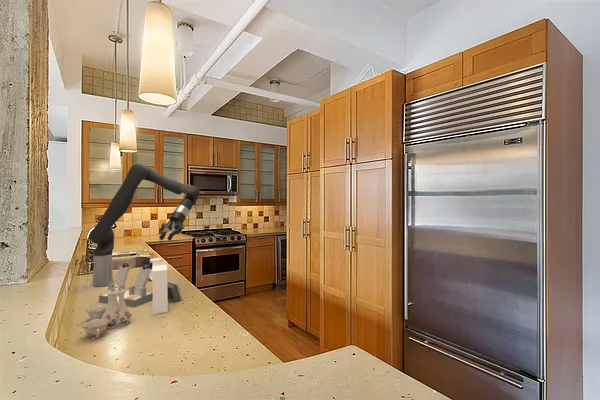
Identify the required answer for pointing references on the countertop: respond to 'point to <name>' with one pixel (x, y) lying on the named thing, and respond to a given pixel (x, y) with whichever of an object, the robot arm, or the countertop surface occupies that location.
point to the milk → (159, 287)
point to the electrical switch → (173, 291)
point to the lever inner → (122, 274)
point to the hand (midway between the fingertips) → (164, 239)
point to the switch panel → (130, 296)
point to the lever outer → (141, 279)
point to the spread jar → (151, 265)
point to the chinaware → (108, 314)
